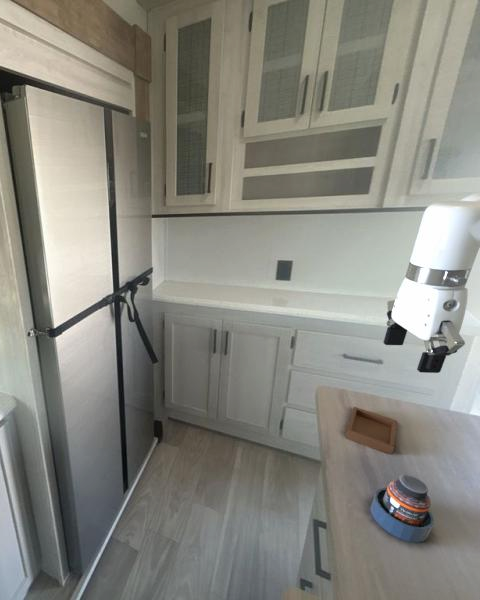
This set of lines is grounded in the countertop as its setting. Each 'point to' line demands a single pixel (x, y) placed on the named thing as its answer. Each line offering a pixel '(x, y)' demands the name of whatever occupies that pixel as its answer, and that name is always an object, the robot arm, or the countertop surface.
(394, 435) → the tray
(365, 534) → the countertop surface
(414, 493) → the supplement bottle
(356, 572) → the countertop surface
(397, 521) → the ring
